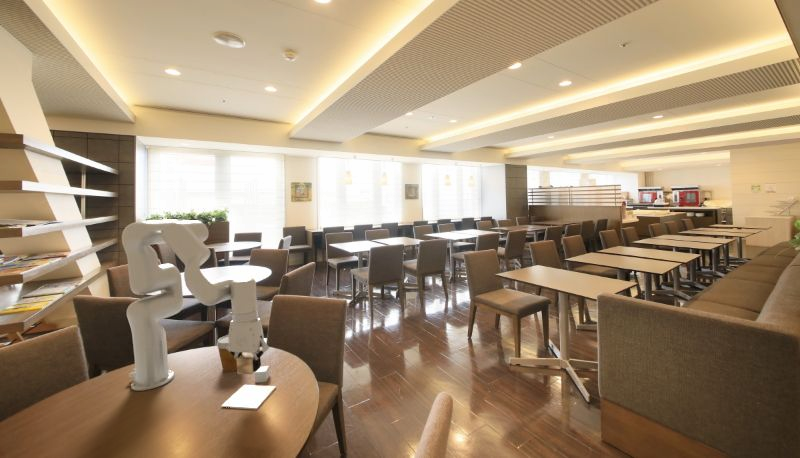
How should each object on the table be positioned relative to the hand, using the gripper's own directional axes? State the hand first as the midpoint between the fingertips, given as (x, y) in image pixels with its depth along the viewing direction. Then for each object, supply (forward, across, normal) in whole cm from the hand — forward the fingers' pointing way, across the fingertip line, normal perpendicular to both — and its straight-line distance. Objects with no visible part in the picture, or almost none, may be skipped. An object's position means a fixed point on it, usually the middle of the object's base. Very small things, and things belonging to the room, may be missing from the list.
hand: (248, 368), depth 107 cm
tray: (+10, 0, 0) cm, 10 cm away
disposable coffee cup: (+10, -19, +18) cm, 28 cm away
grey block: (+10, -2, +11) cm, 15 cm away
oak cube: (+1, 0, 0) cm, 1 cm away
